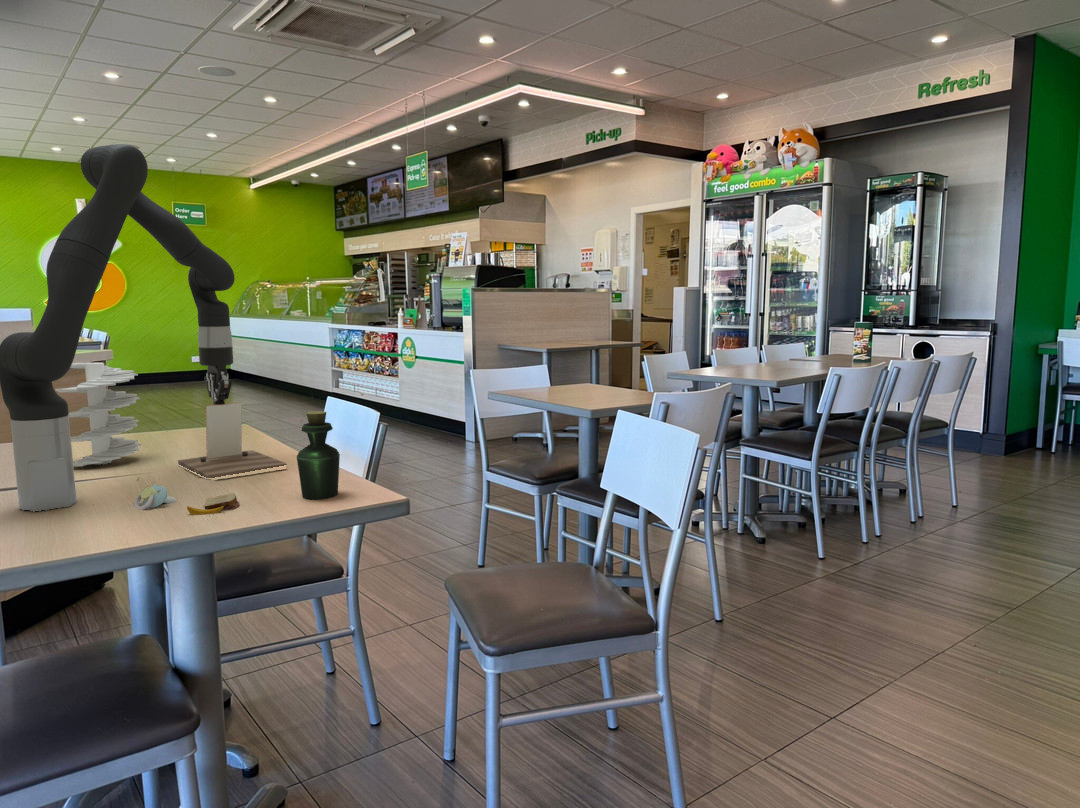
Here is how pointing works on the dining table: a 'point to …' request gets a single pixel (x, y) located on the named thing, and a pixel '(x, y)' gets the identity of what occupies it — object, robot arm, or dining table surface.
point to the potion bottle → (318, 460)
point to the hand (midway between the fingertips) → (219, 416)
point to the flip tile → (223, 430)
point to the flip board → (230, 464)
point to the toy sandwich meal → (216, 504)
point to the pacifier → (153, 497)
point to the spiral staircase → (104, 413)
